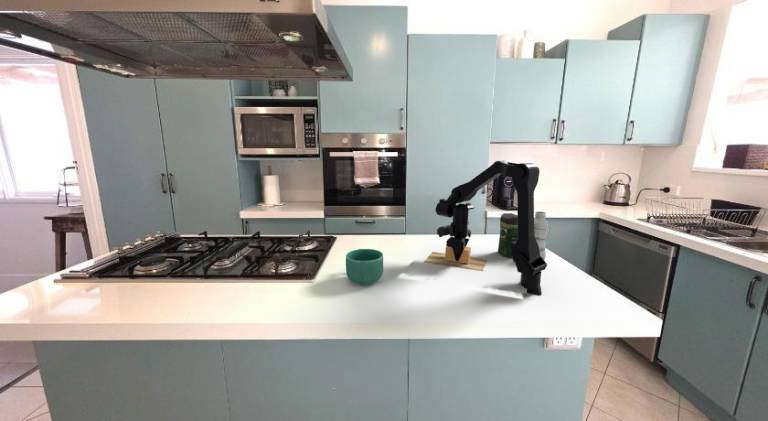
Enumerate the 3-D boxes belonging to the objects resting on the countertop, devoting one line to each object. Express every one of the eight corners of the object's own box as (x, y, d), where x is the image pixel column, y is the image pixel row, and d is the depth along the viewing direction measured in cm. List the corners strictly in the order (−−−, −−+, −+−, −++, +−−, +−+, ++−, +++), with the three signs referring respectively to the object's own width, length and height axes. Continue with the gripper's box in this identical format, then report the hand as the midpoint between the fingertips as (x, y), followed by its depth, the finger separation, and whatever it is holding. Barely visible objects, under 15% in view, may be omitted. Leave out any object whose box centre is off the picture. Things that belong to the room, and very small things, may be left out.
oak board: (482, 275, 108) (482, 271, 108) (423, 266, 117) (423, 262, 117) (486, 262, 121) (486, 258, 121) (432, 255, 130) (432, 251, 129)
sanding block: (468, 263, 114) (469, 251, 113) (444, 260, 118) (445, 247, 117) (470, 259, 119) (471, 247, 118) (447, 256, 122) (448, 244, 122)
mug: (385, 288, 98) (385, 259, 96) (346, 290, 96) (345, 261, 95) (379, 269, 114) (379, 244, 112) (345, 270, 112) (345, 246, 111)
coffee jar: (524, 261, 122) (528, 216, 119) (506, 262, 121) (509, 216, 118) (511, 253, 132) (515, 211, 129) (494, 254, 131) (497, 212, 128)
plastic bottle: (523, 259, 124) (527, 211, 121) (534, 257, 127) (539, 210, 123) (537, 264, 118) (541, 214, 115) (548, 262, 121) (554, 213, 118)
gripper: (444, 213, 127) (443, 249, 130) (433, 222, 110) (431, 263, 113) (472, 215, 123) (470, 252, 125) (464, 225, 106) (462, 268, 109)
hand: (458, 258), depth 118 cm, fingers closed on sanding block, 5 cm apart
